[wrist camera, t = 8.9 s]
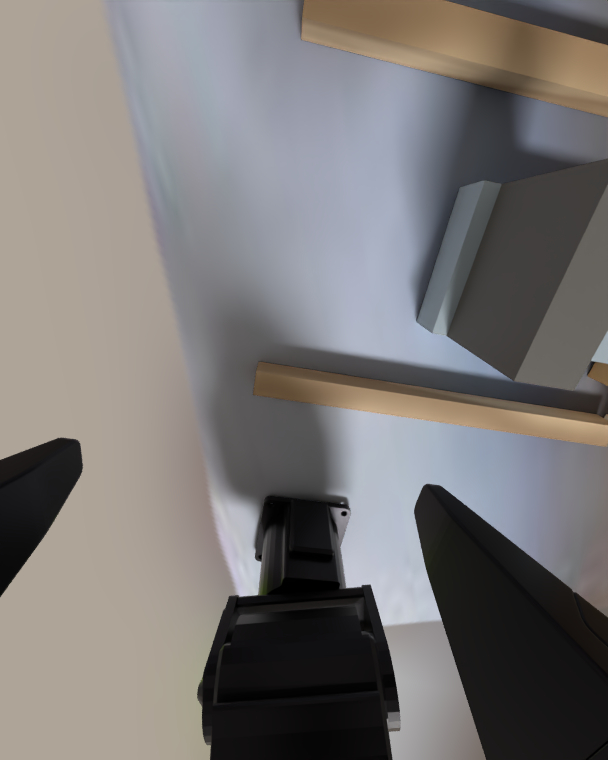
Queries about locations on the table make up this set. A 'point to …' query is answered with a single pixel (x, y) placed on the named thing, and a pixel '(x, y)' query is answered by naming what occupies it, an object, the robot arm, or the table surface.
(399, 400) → the rails
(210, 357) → the table surface
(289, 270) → the table surface
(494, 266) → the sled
